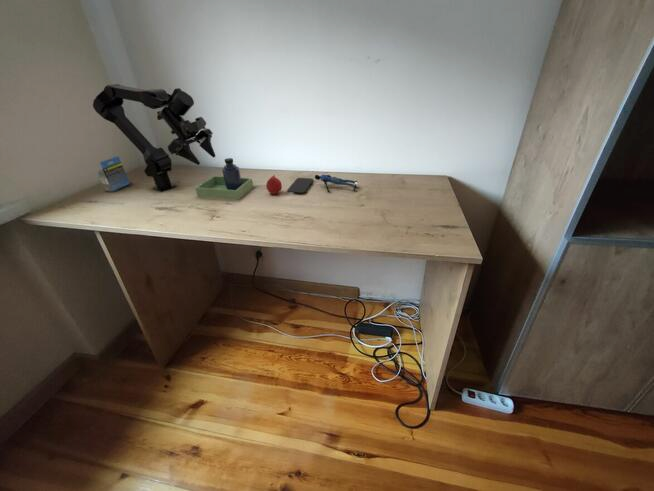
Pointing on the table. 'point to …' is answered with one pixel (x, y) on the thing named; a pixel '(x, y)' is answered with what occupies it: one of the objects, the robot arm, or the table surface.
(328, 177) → the person figurine
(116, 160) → the tape cartridge
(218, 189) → the bin
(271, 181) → the onion
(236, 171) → the bottle
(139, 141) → the robot arm
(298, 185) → the phone
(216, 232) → the table surface
